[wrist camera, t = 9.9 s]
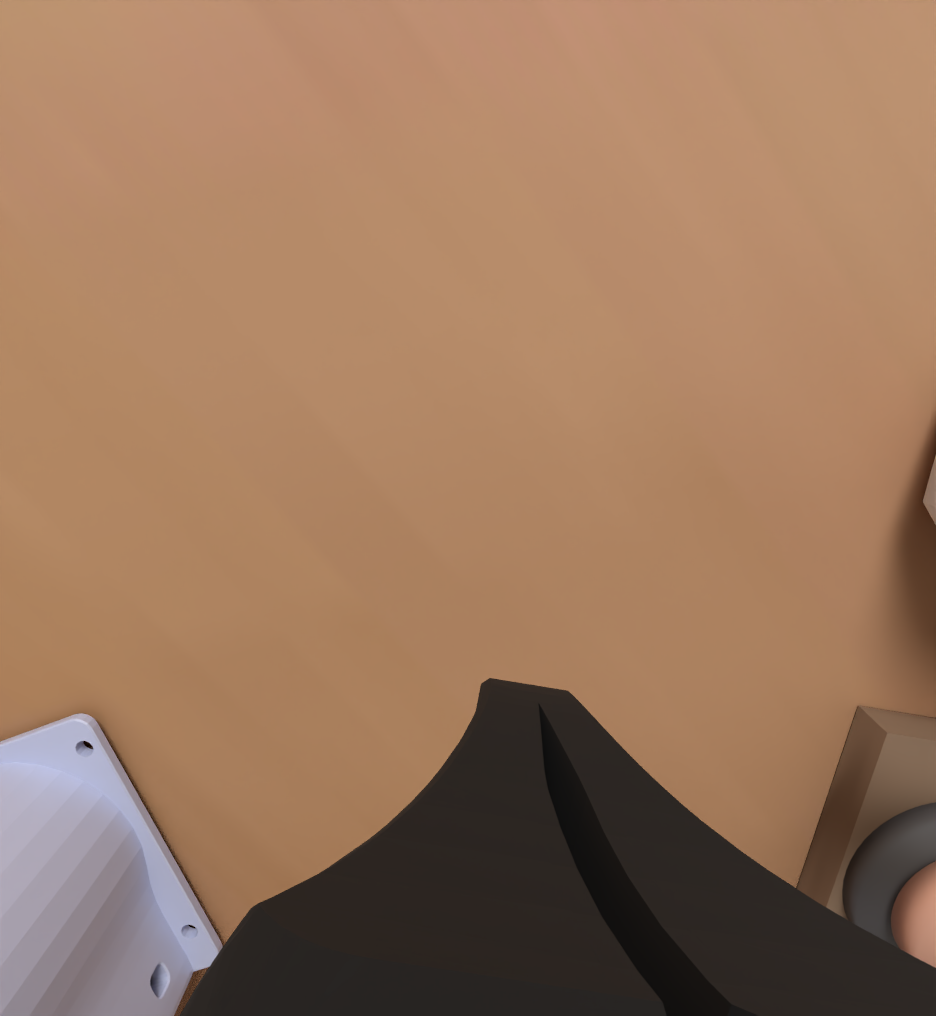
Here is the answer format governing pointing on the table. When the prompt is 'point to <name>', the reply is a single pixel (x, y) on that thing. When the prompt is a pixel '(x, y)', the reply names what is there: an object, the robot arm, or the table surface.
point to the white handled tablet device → (931, 493)
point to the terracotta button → (917, 916)
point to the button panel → (875, 819)
